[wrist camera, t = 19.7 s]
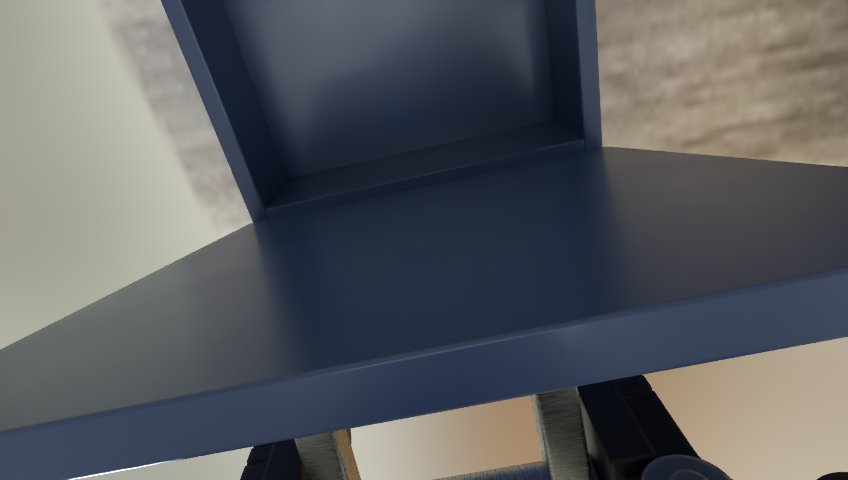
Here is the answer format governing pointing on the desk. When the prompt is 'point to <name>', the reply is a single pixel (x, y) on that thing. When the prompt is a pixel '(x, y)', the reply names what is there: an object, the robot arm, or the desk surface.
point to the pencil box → (387, 91)
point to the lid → (436, 313)
